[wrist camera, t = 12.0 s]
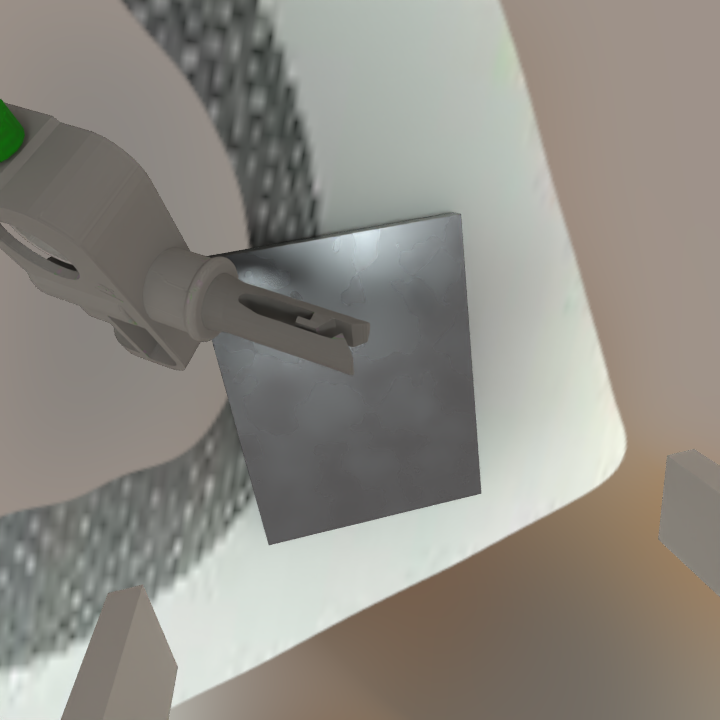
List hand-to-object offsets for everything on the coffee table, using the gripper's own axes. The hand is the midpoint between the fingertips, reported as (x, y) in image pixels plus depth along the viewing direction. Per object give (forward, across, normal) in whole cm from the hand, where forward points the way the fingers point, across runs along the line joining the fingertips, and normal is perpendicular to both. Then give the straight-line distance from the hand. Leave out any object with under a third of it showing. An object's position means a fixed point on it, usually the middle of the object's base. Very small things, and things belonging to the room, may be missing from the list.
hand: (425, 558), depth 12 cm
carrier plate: (+12, 0, 0) cm, 12 cm away
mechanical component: (+4, 0, +4) cm, 6 cm away
